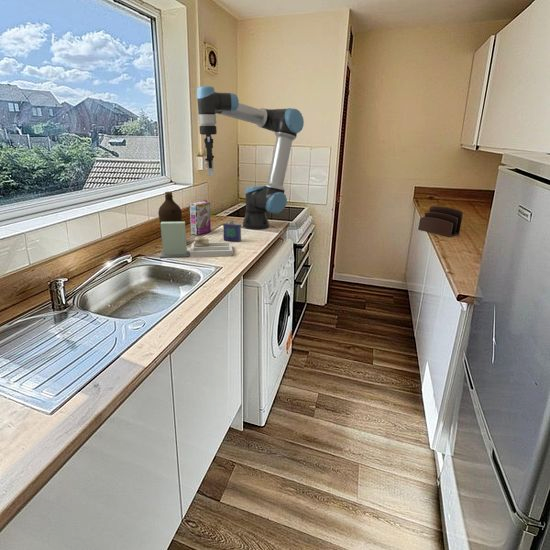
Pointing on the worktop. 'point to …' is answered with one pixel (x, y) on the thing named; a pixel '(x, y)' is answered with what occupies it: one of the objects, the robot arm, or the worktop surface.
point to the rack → (212, 250)
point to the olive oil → (169, 210)
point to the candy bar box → (200, 218)
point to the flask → (232, 232)
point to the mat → (175, 255)
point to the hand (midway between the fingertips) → (210, 174)
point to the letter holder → (441, 221)
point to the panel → (173, 238)
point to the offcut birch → (201, 241)
